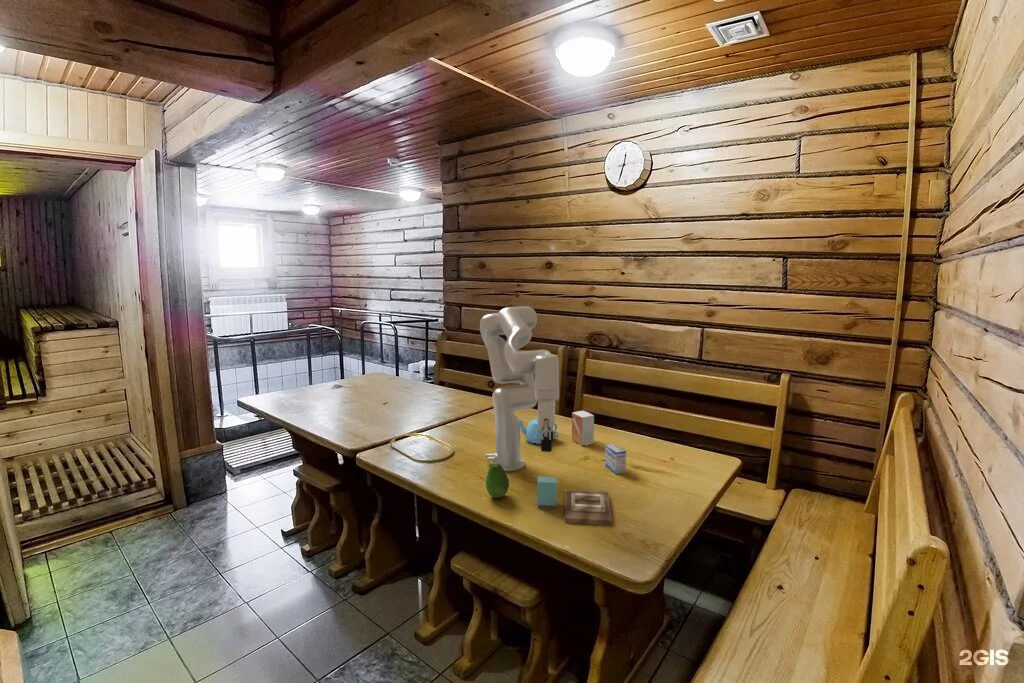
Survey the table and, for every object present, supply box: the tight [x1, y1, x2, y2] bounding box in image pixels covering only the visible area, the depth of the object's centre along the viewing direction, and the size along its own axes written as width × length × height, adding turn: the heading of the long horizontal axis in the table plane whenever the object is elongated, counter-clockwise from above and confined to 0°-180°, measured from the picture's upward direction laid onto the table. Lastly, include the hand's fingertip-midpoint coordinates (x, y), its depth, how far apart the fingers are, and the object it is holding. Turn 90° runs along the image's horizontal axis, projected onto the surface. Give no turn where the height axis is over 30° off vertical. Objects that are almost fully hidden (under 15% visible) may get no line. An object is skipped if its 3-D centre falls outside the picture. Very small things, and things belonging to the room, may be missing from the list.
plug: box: [536, 476, 558, 510], centre depth 157 cm, size 6×4×9 cm, turn 82°
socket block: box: [564, 490, 613, 526], centre depth 154 cm, size 14×18×3 cm
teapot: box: [518, 417, 559, 445], centre depth 214 cm, size 15×15×10 cm
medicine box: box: [604, 443, 627, 475], centre depth 183 cm, size 8×4×9 cm, turn 21°
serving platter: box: [389, 432, 455, 463], centre depth 208 cm, size 19×35×2 cm, turn 41°
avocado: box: [485, 463, 510, 499], centre depth 163 cm, size 8×8×12 cm
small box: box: [571, 410, 595, 446], centre depth 210 cm, size 8×6×13 cm
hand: (547, 445), depth 154 cm, fingers open, 9 cm apart
